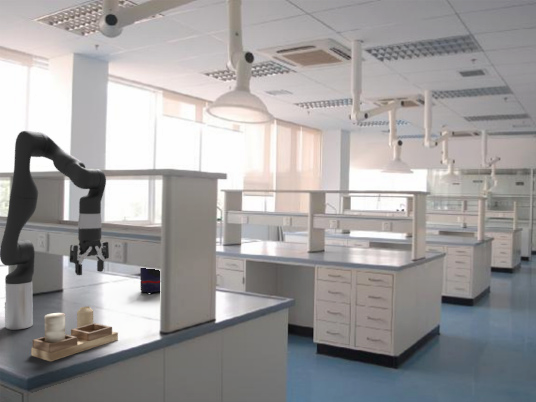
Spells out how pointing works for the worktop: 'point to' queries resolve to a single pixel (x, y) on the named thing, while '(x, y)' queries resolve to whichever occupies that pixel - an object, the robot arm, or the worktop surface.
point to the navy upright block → (150, 280)
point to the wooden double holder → (69, 338)
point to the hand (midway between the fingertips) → (89, 273)
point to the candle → (84, 316)
